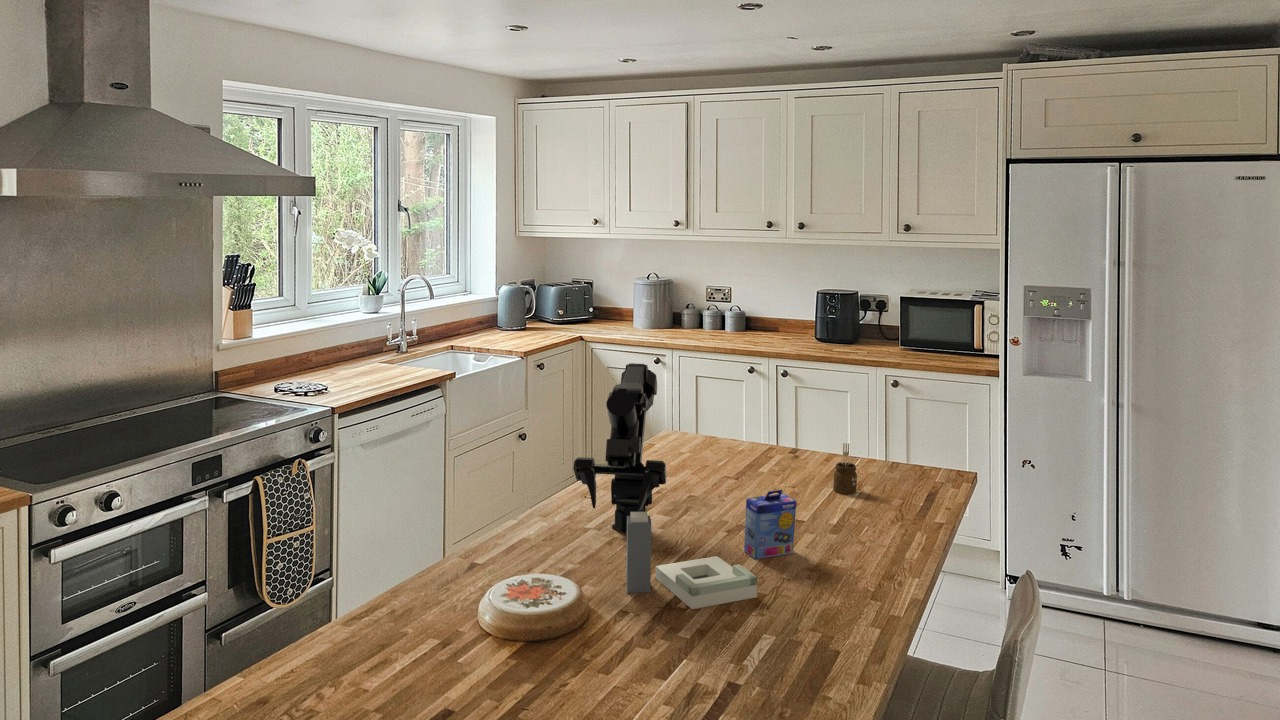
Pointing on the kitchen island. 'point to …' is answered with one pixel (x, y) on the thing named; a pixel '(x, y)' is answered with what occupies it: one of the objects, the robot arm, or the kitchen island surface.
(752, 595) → the socket box
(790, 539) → the ink cartridge box
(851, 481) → the utensil holder
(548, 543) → the kitchen island surface
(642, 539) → the plug
